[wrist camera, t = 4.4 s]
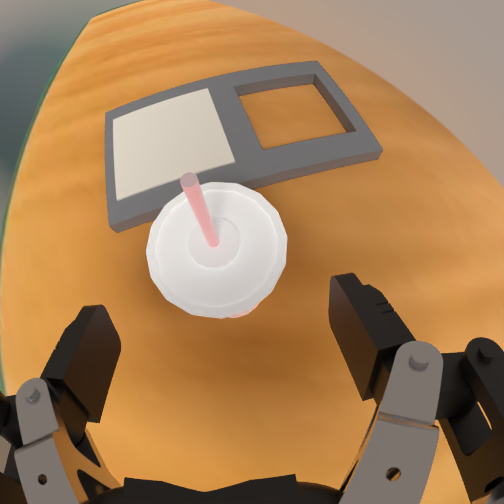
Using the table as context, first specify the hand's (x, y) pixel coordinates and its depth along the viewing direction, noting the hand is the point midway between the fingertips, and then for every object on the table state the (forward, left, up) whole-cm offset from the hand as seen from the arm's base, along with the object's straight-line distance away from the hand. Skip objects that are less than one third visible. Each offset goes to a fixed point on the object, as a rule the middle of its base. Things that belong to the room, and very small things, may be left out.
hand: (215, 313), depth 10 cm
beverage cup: (-1, -3, -11) cm, 11 cm away
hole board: (-5, -17, -11) cm, 21 cm away
